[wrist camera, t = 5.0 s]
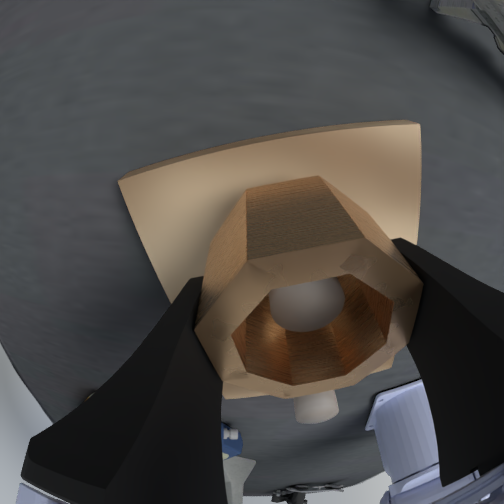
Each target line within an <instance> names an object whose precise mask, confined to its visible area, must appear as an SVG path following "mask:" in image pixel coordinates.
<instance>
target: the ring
mask: <svg viewBox="0 0 504 504" xmlns="http://www.w3.org/2000/svg"><path fill="white" fill-rule="evenodd" d="M336 276H337V278H338V280H339V282H340V285H341V287H342V289H343V292H344V295H345V302H344V306H343V309H342V311H341V312H340V314H339V315H338V316H337V317H336V318H335V319H334V320H333V321H332V322H331V323H329V324H328V325H326V326H324V327H322V328H320V329H317V330H313V331H308V332H295V331H290V330H287V329H284V328H282V327H281V326H279V325H278V324H277V323H276V322H275V321H274V320H273V318H272V315H271V311H270V301H269V294H268V293H269V292H270V290H271V289H276V288H281V287H286V286H292V285H297V284H302V283H307V282H312V281H317V280H322V279H327V278H332V277H336ZM423 285H424V284H423V282H422V281H421V280H420V278H419V277H418V275H417V274H416V273H415V271H414V270H413V269H412V267H411V266H410V265H409V263H408V262H407V261H406V259H405V258H404V257H403V255H402V254H401V253H400V251H399V250H398V249H397V248H396V246H395V245H394V244H393V242H392V241H391V240H390V239H389V237H388V236H387V235H386V234H385V233H384V231H383V230H382V229H381V228H380V226H379V225H378V224H377V223H376V222H375V220H374V219H373V218H372V217H371V216H370V215H369V213H368V212H366V211H365V210H364V209H363V208H361V207H360V206H359V205H358V204H356V203H355V202H354V201H352V200H351V199H350V198H349V197H347V196H346V195H345V194H343V193H342V192H341V191H339V190H338V189H337V188H335V187H334V186H333V185H331V184H330V183H329V182H327V181H326V180H324V179H323V178H322V177H320V176H318V175H317V176H311V177H305V178H300V179H294V180H288V181H283V182H278V183H273V184H267V185H262V186H258V187H253V188H248V189H246V190H245V191H244V193H243V194H242V196H241V197H240V199H239V200H238V202H237V203H236V205H235V206H234V208H233V209H232V211H231V212H230V214H229V215H228V217H227V218H226V220H225V221H224V223H223V224H222V226H221V227H220V229H219V230H218V232H217V233H216V235H215V236H214V238H213V239H212V241H211V243H210V247H209V252H208V257H207V262H206V267H205V272H204V278H203V283H202V288H201V294H200V300H199V305H198V311H197V317H196V322H195V328H194V331H195V333H196V335H197V336H198V338H199V340H200V342H201V344H202V346H203V348H204V350H205V351H206V353H207V355H208V357H209V359H210V361H211V362H212V364H213V366H214V368H215V369H216V371H217V373H218V375H219V376H220V378H221V380H222V381H224V382H227V383H230V384H233V385H237V386H240V387H243V388H247V389H250V390H254V391H257V392H261V393H264V394H268V395H272V396H276V397H280V398H284V399H287V398H293V397H299V396H305V395H310V394H316V393H321V392H326V391H330V390H335V389H339V388H344V387H348V386H352V385H355V384H356V383H358V382H359V381H361V380H362V379H363V378H365V377H366V376H368V375H369V374H370V373H372V372H373V371H374V370H376V369H377V368H378V367H380V366H381V365H382V364H384V363H385V362H386V361H387V360H389V359H390V358H391V357H393V356H394V355H395V354H396V353H398V352H399V351H400V350H401V349H402V348H404V347H405V346H406V345H407V344H408V343H409V341H410V337H411V334H412V330H413V326H414V323H415V319H416V315H417V311H418V307H419V303H420V298H421V294H422V289H423Z"/></svg>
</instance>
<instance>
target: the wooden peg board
mask: <svg viewBox="0 0 504 504" xmlns="http://www.w3.org/2000/svg"><path fill="white" fill-rule="evenodd" d="M317 175H318V176H320V177H322V178H323V179H324V180H326V181H327V182H329V183H330V184H331V185H333V186H334V187H335V188H337V189H338V190H339V191H341V192H342V193H343V194H345V195H346V196H347V197H349V198H350V199H351V200H352V201H354V202H355V203H356V204H358V205H359V206H360V207H361V208H363V209H364V210H365V211H366V212H368V213H369V215H370V216H371V217H372V218H373V219H374V220H375V222H376V223H377V224H378V225H379V226H380V228H381V229H382V230H383V231H384V233H385V234H386V235H387V236H388V237H389V239H390V240H391V239H395V238H400V237H401V238H403V239H405V240H407V241H409V242H411V243H413V244H415V245H417V236H418V226H419V214H420V197H421V132H420V124H418V123H415V122H411V121H408V120H389V121H374V122H361V123H351V124H341V125H332V126H324V127H317V128H310V129H303V130H296V131H290V132H284V133H278V134H273V135H267V136H262V137H257V138H252V139H247V140H243V141H238V142H233V143H229V144H225V145H221V146H216V147H212V148H208V149H204V150H200V151H197V152H193V153H189V154H186V155H182V156H178V157H175V158H171V159H168V160H165V161H161V162H158V163H155V164H152V165H149V166H145V167H142V168H139V169H136V170H133V171H130V172H128V173H127V174H126V175H124V176H123V177H122V178H121V179H120V180H118V184H119V186H120V189H121V192H122V194H123V197H124V200H125V202H126V205H127V207H128V210H129V212H130V215H131V217H132V220H133V222H134V224H135V227H136V229H137V232H138V234H139V236H140V239H141V241H142V243H143V245H144V248H145V250H146V252H147V254H148V257H149V259H150V261H151V263H152V265H153V267H154V270H155V272H156V274H157V276H158V278H159V280H160V282H161V284H162V286H163V288H164V290H165V292H166V294H167V296H168V298H169V300H170V302H171V304H172V303H173V301H174V300H175V298H176V297H177V295H178V294H179V293H180V291H181V290H182V288H183V287H184V286H185V284H186V283H187V282H188V280H189V279H190V278H194V277H200V276H204V272H205V267H206V262H207V257H208V252H209V247H210V243H211V241H212V239H213V238H214V236H215V235H216V233H217V232H218V230H219V229H220V227H221V226H222V224H223V223H224V221H225V220H226V218H227V217H228V215H229V214H230V212H231V211H232V209H233V208H234V206H235V205H236V203H237V202H238V200H239V199H240V197H241V196H242V194H243V193H244V191H245V190H246V189H248V188H253V187H258V186H262V185H267V184H273V183H278V182H283V181H288V180H294V179H300V178H305V177H311V176H317ZM268 294H269V301H270V311H271V315H272V318H273V320H274V321H275V322H276V323H277V324H278V325H279V326H281V327H282V328H284V329H287V330H290V331H295V332H308V331H313V330H317V329H320V328H322V327H324V326H326V325H328V324H329V323H331V322H332V321H333V320H334V319H335V318H336V317H337V316H338V315H339V314H340V312H341V311H342V309H343V306H344V302H345V295H344V292H343V289H342V287H341V285H340V282H339V280H338V278H337V276H336V277H332V278H327V279H322V280H317V281H312V282H307V283H302V284H297V285H292V286H286V287H281V288H276V289H271V290H270V292H269V293H268ZM394 356H395V355H394ZM394 356H393V357H391V358H390V359H389V360H387V361H386V362H385V363H384V364H382V365H381V366H380V367H378V368H377V369H376V370H374V371H373V372H372V373H375V372H378V371H382V370H385V369H389V368H391V366H392V363H393V359H394ZM370 374H371V373H370ZM222 394H223V396H224V397H225V399H235V398H245V397H254V396H262V395H268V394H264V393H261V392H257V391H254V390H250V389H247V388H243V387H240V386H237V385H233V384H230V383H227V382H224V381H223V390H222ZM293 400H294V408H295V416H296V420H297V421H298V422H299V423H303V424H314V423H320V422H323V421H326V420H329V419H331V418H333V417H334V416H336V415H337V414H338V412H339V409H338V404H337V400H336V395H335V391H334V390H330V391H326V392H321V393H316V394H310V395H305V396H299V397H293Z"/></svg>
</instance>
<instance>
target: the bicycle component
mask: <svg viewBox="0 0 504 504" xmlns="http://www.w3.org/2000/svg"><path fill="white" fill-rule="evenodd" d="M341 486H343V485H329V484H326V485H325V486H303V485H296V486H289V487H291V488H286V489H287V490H289V491H294V493H291V494H286V493H287V491H283V492H282V493H280V491H281V490H276V492H273V496H272V500H271V501H272V502H276V503H278V502H282V501H286V502H287V503H288V504H307V500H304V499H305V494H306V493H307V492H325V491H340V492H343V491H344V490H341V488H342V487H341ZM306 487H312V488H318V489H320V487H325V488H326V489H321V490H304V489H308V488H306Z"/></svg>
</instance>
